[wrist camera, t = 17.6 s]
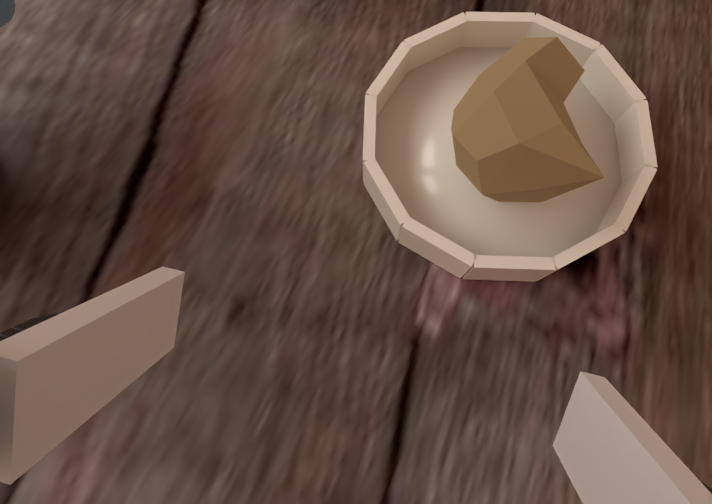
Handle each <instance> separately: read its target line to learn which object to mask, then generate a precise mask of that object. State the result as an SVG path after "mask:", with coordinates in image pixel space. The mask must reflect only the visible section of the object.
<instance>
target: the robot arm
mask: <svg viewBox="0 0 712 504" xmlns="http://www.w3.org/2000/svg"><path fill="white" fill-rule="evenodd" d="M14 11H15V1H14V0H0V27H2V26H3V25H5V24H6V23H8V22H9V21H10V20H11V18H12V17H13V15H14ZM184 274H185V272H183V271H179V270H175V269H171V268H167V267H161V268H158V269H156V270H154V271H152V272H150V273H148V274H145V275H143V276H141V277H139V278H137V279H135V280H132V281H130V282H128V283H126V284H124V285H121V286H119V287H117V288H115V289H113V290H111V291H108V292H106V293H104V294H102V295H100V296H98V297H95V298H93V299H91V300H89V301H87V302H85V303H82V304H80V305H78V306H76V307H74V308H72V309H69V310H67V311H65V312H63V313H61V314H59V315H58V314H52V315H48V316H43V317H38V318H34V319H31V320H29V321H26V322H24V323H22V324H19V325H17V326H15V327H14V329H11V328H10V329H8V330H6V331H4V332H1V333H0V482H2V483H6V484H12V483H13V482H14V481H15V480H16V479H18V478H19V477H20V476H21V475H22V474H24V473H25V472H26V471H27V470H28V469H30V468H31V467H32V466H33V465H34V464H35V463H37V462H38V461H39V460H40V459H41V458H43V457H44V456H45V455H46V454H47V453H49V452H50V451H51V450H52V449H53V448H55V447H56V446H57V445H58V444H59V443H61V442H62V441H63V440H64V439H65V438H66V437H68V436H69V435H70V434H71V433H72V432H74V431H75V430H76V429H77V428H78V427H80V426H81V425H82V424H83V423H84V422H86V421H87V420H88V419H89V418H90V417H92V416H93V415H94V414H95V413H96V412H98V411H99V410H100V409H101V408H102V407H103V406H105V405H106V404H107V403H108V402H109V401H111V400H112V399H113V398H114V397H115V396H117V395H118V394H119V393H120V392H121V391H123V390H124V389H125V388H126V387H127V386H129V385H130V384H131V383H132V382H133V381H134V380H136V379H137V378H138V377H139V376H140V375H142V374H143V373H144V372H145V371H146V370H148V369H149V368H150V367H151V366H152V365H154V364H155V363H156V362H157V361H158V360H160V359H161V358H162V357H163V356H164V355H165V354H167V353H168V352H169V351H170V350H171V349H173V348H174V344H175V337H176V330H177V323H178V316H179V309H180V302H181V295H182V288H183V281H184ZM553 447H554V449H555V451H556V453H557V455H558V457H559V459H560V461H561V463H562V465H563V467H564V468H565V470H566V472H567V474H568V476H569V478H570V480H571V482H572V484H573V486H574V488H575V490H576V491H577V493H578V495H579V497H580V499H581V501H582V503H583V504H712V489H711V488H709V487H708V486H707V485H705V484H704V483H703V482H701V481H700V480H699V479H698V478H697V477H696V476H695V475H694V474H693V473H692V472H691V471H690V470H689V469H688V468H687V466H686V465H685V464H684V463H683V462H682V461H681V460H680V459H679V458H678V457H677V456H676V455H675V453H674V452H673V451H672V450H671V449H670V448H669V447H668V446H667V445H666V444H665V443H664V441H663V440H662V439H661V438H660V437H659V436H658V435H657V434H656V433H655V432H654V431H653V429H652V428H651V427H650V426H649V425H648V424H647V423H646V422H645V421H644V420H643V419H642V417H641V416H640V415H639V414H638V413H637V412H636V411H635V410H634V409H633V408H632V407H631V406H630V404H629V403H628V402H627V401H626V400H625V399H624V398H623V397H622V396H621V395H620V394H619V392H618V391H617V390H616V389H615V388H614V387H613V386H612V385H611V384H610V383H609V382H608V380H607V379H606V378H605V377H601V376H597V375H593V374H589V373H585V372H581V371H580V374H579V377H578V379H577V382H576V385H575V387H574V390H573V393H572V395H571V398H570V401H569V403H568V406H567V409H566V411H565V414H564V417H563V419H562V422H561V425H560V427H559V430H558V433H557V435H556V438H555V441H554V443H553Z"/></svg>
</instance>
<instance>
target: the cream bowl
mask: <svg viewBox="0 0 712 504" xmlns="http://www.w3.org/2000/svg"><path fill="white" fill-rule="evenodd" d="M535 37H558V38H559V40H560V41H561V42H562V43H563V45H564V46H565V47H566V48H567V49H568V51H569V52H570V53H571V54H572V55H573V57H574V58H575V59H576V60H577V62H578V63H579V64H580V65H581V66H582V68H583V69H584V70H585V71H584V72H583V74H582V75H581V77H580V79H579V80H578V82H577V83H576V85H575V86H574V88H573V89H572V91H571V92H570V94H569V95H568V97H567V98H566V100H565V101H564V105H565V107H566V110H567V112H568V114H569V116H570V118H571V121H572V123H573V125H574V127H575V129H576V131H577V134H578V136H579V138H580V140H581V142H582V144H583V146H584V147H585V149H586V150H587V152H588V153H589V155H590V156H591V158H592V159H593V161H594V162H595V164H596V165H597V167H598V169H599V170H600V172H601V173H602V175H603V176H604V178H602V179H600V180H597V181H595V182H592V183H589V184H587V185H584V186H582V187H579V188H577V189H574V190H572V191H569V192H566V193H564V194H561V195H559V196H556V197H554V198H551V199H549V200H546V201H543V202H498V201H496V200H494V199H491V198H489V197H486V196H484V195H482V194H481V193H480V192H479V191H478V189H477V188H476V187H475V186H474V185H473V184H472V183H471V182H470V180H469V179H468V178H467V177H466V176H465V175H464V174H463V172H462V171H461V170H460V169H459V168H458V167H457V166H456V159H455V152H454V145H453V138H452V131H451V126H452V119H453V112H454V109H455V107H456V106H457V105H458V103H459V102H460V100H461V99H462V98H463V96H464V95H465V94H466V92H467V91H468V89H469V88H470V87H471V85H472V84H473V83H474V81H475V80H476V78H477V77H478V76H479V75H480V74H481V73H482V72H483V71H485V70H486V69H487V68H488V67H490V66H491V65H492V64H493V63H494V62H496V61H497V60H498V59H499V58H501V57H502V56H503V55H504V54H505V53H507V52H508V51H509V50H510V49H511V48H513V47H514V46H515V45H516V44H518V43H519V42H520V41H521V40H522V39H524V38H535ZM599 45H600V42H598V41H595V40H593V39H591V38H589V37H587V36H585V35H582V34H580V33H578V32H576V31H574V30H572V29H570V28H567V27H565V26H563V25H561V24H559V23H557V22H555V21H552V20H550V19H548V18H546V17H544V16H542V15H540V14H536V15H535V13H519V12H466V13H465V14H464V12H463V13H461V14H459V15H456V16H454V17H452V18H450V19H448V20H446V21H443V22H441V23H439V24H437V25H435V26H433V27H431V28H428V29H426V30H424V31H422V32H420V33H418V34H415V35H413V36H411V37H409V38H407V39H405V40H404V42H403V41H402V42H401V44H400V45H399V47H398V48H397V49H396V51H395V52H394V54H393V55H392V56H391V58H390V59H389V61H388V62H387V64H386V65H385V66H384V68H383V69H382V71H381V72H380V73H379V75H378V76H377V78H376V79H375V80H374V82H373V83H372V85H371V86H370V88H369V89H368V90H367V92H366V95H365V112H364V140H363V182H364V186H365V187H366V189H367V191H368V192H369V194H370V196H371V198H372V199H373V201H374V203H375V205H376V206H377V208H378V210H379V211H380V213H381V215H382V217H383V218H384V220H385V222H386V223H387V225H388V227H389V229H390V230H391V232H392V234H393V236H394V237H395V239H396V241H397V240H399V241H398V243H400V244H402V245H403V246H405V247H407V248H409V249H410V250H412V251H414V252H415V253H417V254H419V255H420V256H422V257H424V258H426V259H427V260H429V261H431V262H432V263H434V264H436V265H438V266H439V267H441V268H443V269H444V270H446V271H448V272H449V273H451V274H453V275H455V276H456V277H458V278H461V277H462V279H468V280H499V281H530V282H535V281H538V280H540V279H542V278H544V277H546V276H547V275H549V274H551V273H553V272H555V271H557V270H558V269H560V268H562V267H564V266H566V265H567V264H569V263H571V262H573V261H575V260H577V259H578V258H580V257H582V256H584V255H586V254H588V253H589V252H591V251H593V250H595V249H597V248H598V247H600V246H602V245H604V244H606V243H607V242H609V241H611V240H613V239H615V238H617V237H618V236H620V235H622V234H624V232H626V231H627V229H628V227H629V225H630V223H631V221H632V219H633V217H634V215H635V213H636V211H637V209H638V207H639V205H640V203H641V201H642V199H643V197H644V195H645V193H646V191H647V189H648V187H649V185H650V183H651V181H652V179H653V177H654V175H655V173H656V171H657V169H656V168H657V167H658V166H657V160H656V153H655V147H654V140H653V134H652V127H651V121H650V114H649V108H648V101H647V100H645V99H646V97H645V96H644V95H643V93H642V92H641V91H640V90H639V88H638V87H637V86H636V85H635V84H634V82H633V81H632V80H631V79H630V77H629V76H628V75H627V74H626V73H625V71H624V70H623V69H622V68H621V66H620V65H619V64H618V63H617V62H616V60H615V59H614V58H613V57H612V55H611V54H610V53H609V52H608V50H607V49H606V48H605V47H604V46H603V44H602V45H600V46H599Z"/></svg>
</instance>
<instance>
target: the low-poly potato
mask: <svg viewBox="0 0 712 504" xmlns="http://www.w3.org/2000/svg"><path fill="white" fill-rule="evenodd" d="M584 71H585V70H584V69H583V68H582V66H581V65H580V64H579V63H578V62H577V60H576V59H575V58H574V57H573V55H572V54H571V53H570V52H569V51H568V49H567V48H566V47H565V46H564V45H563V43H562V42H561V41H560V40H559V38H558V37H535V38H524V39H522V40H521V41H520V42H519V43H518V44H516V45H515V46H514V47H513V48H511V49H510V50H509V51H508V52H507V53H505V54H504V55H503V56H502V57H501V58H499V59H498V60H497V61H496V62H494V63H493V64H492V65H491V66H490V67H488V68H487V69H486V70H485V71H483V72H482V73H481V74H480V75H479V76H478V77H477V78H476V80H475V81H474V83H473V84H472V85H471V87H470V88H469V89H468V91H467V92H466V94H465V95H464V96H463V98H462V99H461V100H460V102H459V103H458V105H457V106H456V107H455V109H454V112H453V119H452V126H451V131H452V138H453V145H454V152H455V159H456V166H457V167H458V168H459V169H460V170H461V171H462V172H463V174H464V175H465V176H466V177H467V178H468V179H469V180H470V182H471V183H472V184H473V185H474V186H475V187H476V188H477V189H478V191H479V192H480V193H481V194H482V195H484V196H486V197H489V198H491V199H494V200H496V201H498V202H543V201H546V200H549V199H551V198H554V197H556V196H559V195H561V194H564V193H566V192H569V191H572V190H574V189H577V188H579V187H582V186H584V185H587V184H589V183H592V182H595V181H597V180H600V179H602V178H604V176H603V175H602V173H601V172H600V170H599V169H598V167H597V165H596V164H595V162H594V161H593V159H592V158H591V156H590V155H589V153H588V152H587V150H586V149H585V147H584V146H583V144H582V142H581V140H580V138H579V136H578V134H577V131H576V129H575V127H574V125H573V123H572V121H571V118H570V116H569V114H568V112H567V110H566V107H565V105H564V101H565V100H566V98H567V97H568V95H569V94H570V92H571V91H572V89H573V88H574V86H575V85H576V83H577V82H578V80H579V79H580V77H581V75H582V74H583V72H584Z"/></svg>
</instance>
